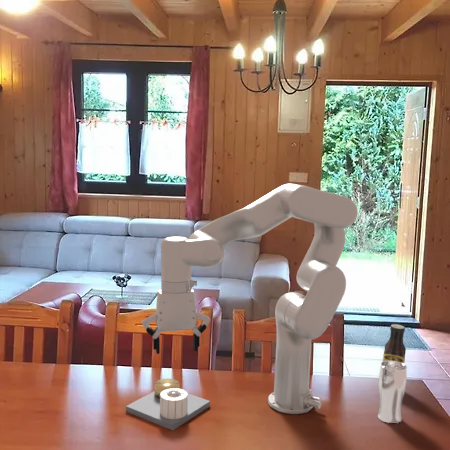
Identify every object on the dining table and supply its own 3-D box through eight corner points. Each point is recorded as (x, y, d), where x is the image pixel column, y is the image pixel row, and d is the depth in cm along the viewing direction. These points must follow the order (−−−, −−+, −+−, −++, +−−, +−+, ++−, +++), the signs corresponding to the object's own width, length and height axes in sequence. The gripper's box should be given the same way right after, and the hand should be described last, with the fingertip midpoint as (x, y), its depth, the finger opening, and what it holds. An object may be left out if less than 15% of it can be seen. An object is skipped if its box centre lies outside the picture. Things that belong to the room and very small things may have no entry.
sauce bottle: (378, 391, 159) (383, 327, 156) (380, 383, 165) (385, 321, 162) (401, 395, 156) (407, 330, 154) (402, 387, 162) (408, 324, 159)
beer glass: (389, 427, 138) (393, 372, 136) (370, 414, 144) (374, 362, 142) (408, 421, 141) (413, 367, 139) (389, 409, 148) (393, 358, 145)
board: (209, 406, 146) (210, 401, 146) (172, 430, 133) (172, 424, 133) (165, 390, 155) (165, 385, 155) (126, 411, 142) (126, 406, 141)
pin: (179, 411, 139) (180, 392, 138) (173, 415, 137) (174, 395, 136) (172, 409, 141) (172, 389, 140) (166, 412, 139) (167, 392, 138)
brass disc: (184, 393, 150) (184, 383, 150) (168, 402, 144) (168, 391, 144) (165, 386, 154) (165, 376, 153) (149, 395, 148) (149, 384, 148)
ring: (192, 411, 140) (192, 393, 139) (175, 421, 134) (176, 403, 133) (171, 403, 144) (172, 385, 143) (154, 413, 138) (154, 395, 137)
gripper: (207, 280, 139) (207, 343, 142) (140, 283, 136) (141, 347, 139) (212, 288, 132) (212, 354, 135) (142, 291, 129) (143, 358, 131)
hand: (176, 350), depth 137 cm, fingers open, 9 cm apart
